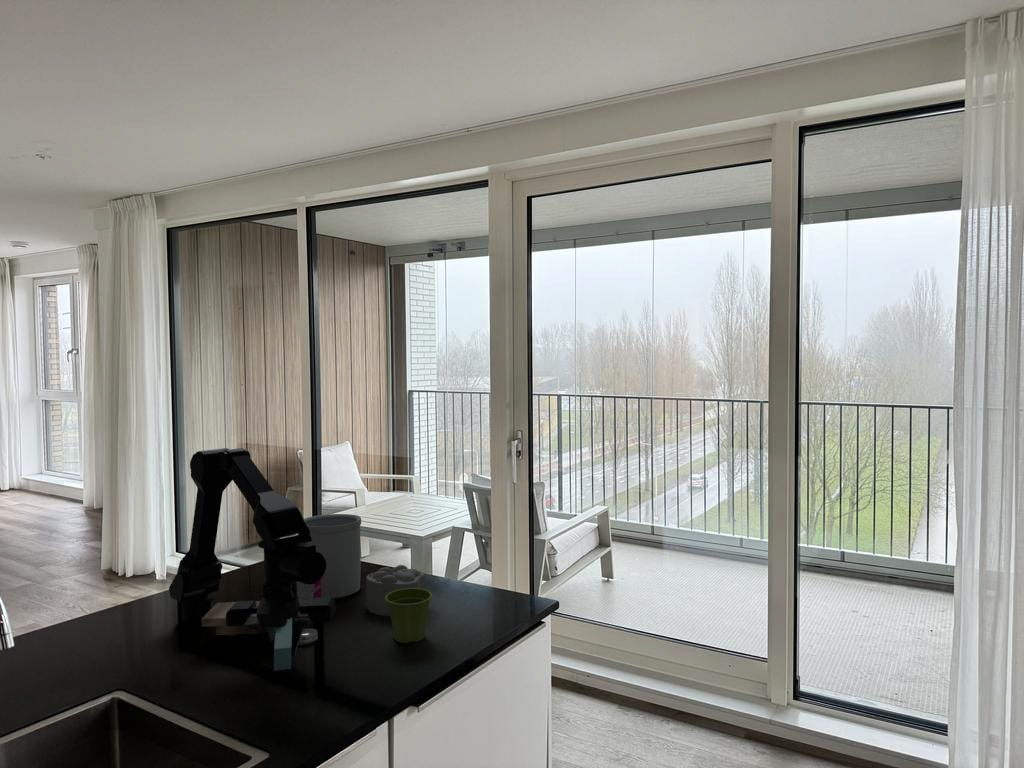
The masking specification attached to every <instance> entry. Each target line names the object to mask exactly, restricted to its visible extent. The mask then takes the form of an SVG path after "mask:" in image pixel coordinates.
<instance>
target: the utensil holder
mask: <svg viewBox="0 0 1024 768" xmlns="http://www.w3.org/2000/svg"><path fill="white" fill-rule="evenodd" d="M303 519H304V521H305V523H306V525H307V527H308V528H309V530H310V536H311V538H312V541H311V542H307V543H306V544H314V545H316V552H319V553H321V554H322V555H323V557H324V559H325V561H326V570H325V573H324V575H323V577H322V578H321V598H324V597H332V598H333V599H340V598H344V597H348V596H351V595H353V594H355V593H357V592H358V591H360V588H361V567H362V566H361V525H362V517H361V516H359V515H356V514H349V513H339V514H338V513H331V514H330V513H329V514H320V515H318V514H317V515H313V516H308V517H305V518H303Z"/></svg>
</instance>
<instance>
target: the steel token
mask: <svg viewBox="0 0 1024 768" xmlns="http://www.w3.org/2000/svg"><path fill="white" fill-rule="evenodd" d="M318 633H319V632H318V630H317V629H315V628H304V629H303V631H302V634H301V637H300V641H299V644H309V643H312V642H314V641H316V640H317V639H318V640H319V634H318ZM318 640H317V641H318ZM317 641H316V642H317ZM309 645H310V644H309Z"/></svg>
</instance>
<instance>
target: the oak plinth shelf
mask: <svg viewBox="0 0 1024 768" xmlns="http://www.w3.org/2000/svg"><path fill="white" fill-rule="evenodd" d="M254 601H255V602H256V606H259V603H260V601H261V600H254ZM235 602H236V601H232V602H231V601H229V602H216V603H215V606H214V607H213V608H212V609H211V610H210V611H209V612H208V613H207V614H206V615H205V616H204V617H203V618H202V619H201V624H202V627H201V628H205V627H215V636H216V635H228V636H236V635H235V634H249V635H258V634H257V633H259V632H257V631H256V630H255V629H250V628H249V625H250V618H248V620H247V621H246V623H245V624H244V625H243V626H226V612H227V611H228V610H229V609H230V608H231V607H232V606H233V605H234V604H235ZM274 632H276V627H274Z"/></svg>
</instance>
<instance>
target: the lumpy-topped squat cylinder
mask: <svg viewBox="0 0 1024 768" xmlns="http://www.w3.org/2000/svg"><path fill="white" fill-rule="evenodd" d="M365 584H366V585H365V588H366V589H365V590H366V592H365V593H366V599H365V600H366V610H367V609H368V610H369V611H368V610H367V611H368V612H370V613H372V614H374V615H378V616H386V617H387V616H388V617H391V614H390V608H389V607H388V602H387V601H386V599H385V597H386V595H387V594H389V593H390V592H392V591H395V590H399V589H405V588H420V589H425V590H426V574H425V572H423V571H421V570H417V569H415V568H408V566H406V565H405V564H404V565H403V564H399V565H397V566H394V567H393V568H390V567H386V566H385V567H381V568H379V569H378V570H377V571H372V572H371V573H369V574H367V576H366V577H365Z"/></svg>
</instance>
